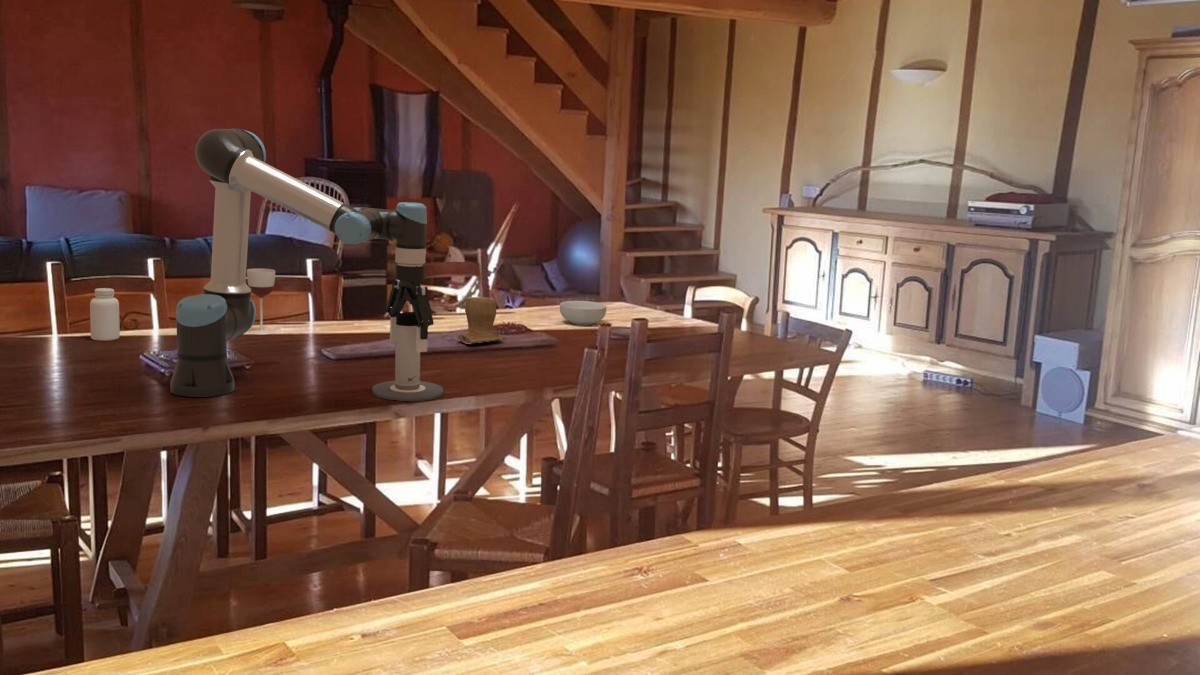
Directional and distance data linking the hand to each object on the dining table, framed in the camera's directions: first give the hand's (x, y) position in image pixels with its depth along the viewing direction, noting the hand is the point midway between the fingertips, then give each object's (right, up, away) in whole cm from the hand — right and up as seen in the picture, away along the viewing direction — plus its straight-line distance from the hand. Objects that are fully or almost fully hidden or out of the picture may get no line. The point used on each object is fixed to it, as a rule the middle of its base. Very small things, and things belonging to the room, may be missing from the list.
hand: (408, 346), depth 279 cm
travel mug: (0, -11, +2) cm, 11 cm away
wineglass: (-59, +4, +70) cm, 92 cm away
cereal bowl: (+43, +7, +117) cm, 125 cm away
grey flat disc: (-1, -12, +2) cm, 12 cm away
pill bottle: (-99, +2, +48) cm, 110 cm away
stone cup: (+10, +1, +73) cm, 73 cm away
